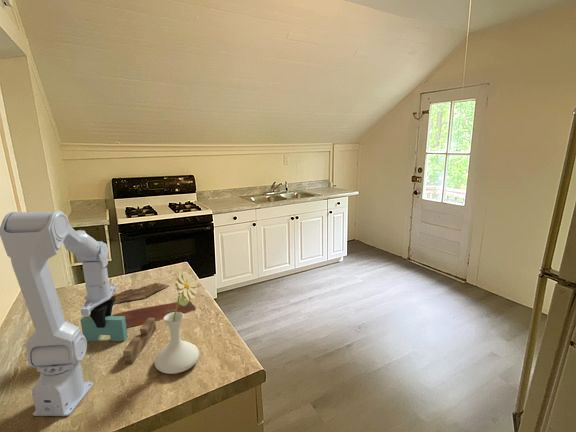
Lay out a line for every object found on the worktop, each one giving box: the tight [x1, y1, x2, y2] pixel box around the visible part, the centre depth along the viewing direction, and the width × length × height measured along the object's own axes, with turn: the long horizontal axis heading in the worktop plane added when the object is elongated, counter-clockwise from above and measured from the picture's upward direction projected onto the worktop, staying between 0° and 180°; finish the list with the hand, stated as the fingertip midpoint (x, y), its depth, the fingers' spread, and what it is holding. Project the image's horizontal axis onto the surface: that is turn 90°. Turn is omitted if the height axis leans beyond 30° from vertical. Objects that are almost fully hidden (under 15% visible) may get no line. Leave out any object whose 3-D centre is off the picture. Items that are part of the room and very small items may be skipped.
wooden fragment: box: [112, 282, 170, 305], centre depth 123 cm, size 26×11×1 cm, turn 128°
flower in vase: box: [154, 271, 201, 375], centre depth 84 cm, size 13×11×25 cm
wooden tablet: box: [111, 300, 196, 329], centre depth 110 cm, size 27×10×2 cm, turn 117°
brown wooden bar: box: [122, 318, 157, 365], centre depth 93 cm, size 16×2×4 cm, turn 0°
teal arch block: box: [79, 315, 128, 342], centre depth 96 cm, size 12×2×7 cm, turn 90°
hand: (103, 324), depth 96 cm, fingers open, 2 cm apart
